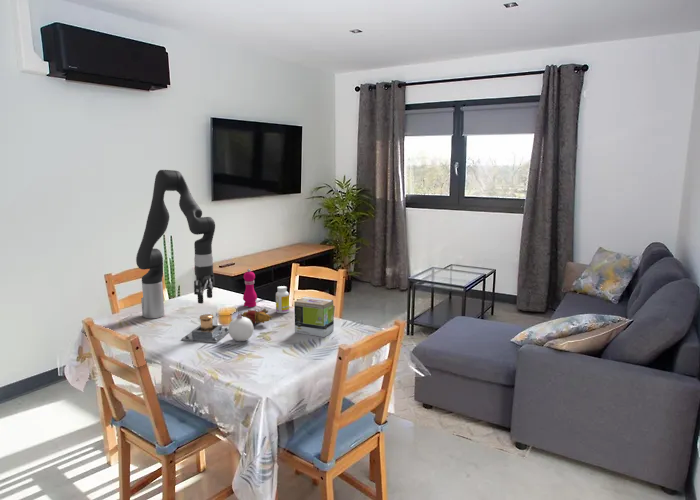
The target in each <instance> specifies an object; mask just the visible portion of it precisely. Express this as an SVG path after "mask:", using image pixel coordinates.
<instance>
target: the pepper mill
mask: <svg viewBox="0 0 700 500" xmlns="http://www.w3.org/2000/svg"><path fill="white" fill-rule="evenodd" d="M246 270H247V271H246V272H244V274H243V279H244V284H245V290H244V293H243V295H242V299H243V301H244V303H243V305H244V306H243V307H245V306H248V307H247V308H254V306H255V307H256V306H257V299H258V295H257V292H256V291H255V288H254V287H255V285H254V284H255V279H256V274H255V273H254V271H252V270H251V269H250V268H248V269H246Z"/></svg>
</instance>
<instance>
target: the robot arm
mask: <svg viewBox="0 0 700 500" xmlns="http://www.w3.org/2000/svg"><path fill="white" fill-rule="evenodd" d="M153 184H154V185H153V190H152V191H153V192H152V199H151V203H150V207H149V210H148V215H147V219H146V224H145V229H144V232H143V236H142V239H141V242H140V245H139V247H138V251H137V253H136V257H135V262H136V266H137V267H138V269H139V270H145V271H146V270H148V271H147V272H146V273H145V274H144V275H142V277H141V287H142V288H141V289H142V297H141V300H140V301H141V312H142V313H141V314H142V315H141V316H142V318H145V319H158V318H159V319H160V318H162V317H164V316H165V303H164V302H165V301H164V289H163V288H164V287H163V276H164V257H163V254H162V252H161V250H160V249H158V248H155V245H156V244H157V242H158V241H159V240H160V239H161V237H163V235H164V234H165V232H166V231H167V228H168V225H169V222H170V213H169V210H168V208H167V206H166V204H165V200H164V198H165V192H167V191H168V192H172V191H173V192H175V191H176V192H177V193H178V194H179V195H180V197H179V202H178V205H179V209H180V211H181V213H183V215H184V217H185V218H186V222H187V225H188V228H189V231H190V233H191V234H193V235H197V236H198V235H199V236H200V235H202V237H201V238H198V239H197V240H194V259H193V260H194V262H193V263H194V275H195V276H197V280H194V281H193V294H194V295H196V296H197V303H198V304H202V305H203V304H204V292H205V291H206V297H207V299H211V298H213V290H214V288H215V285H216V284H215V283H216V282H215V274H214V263H213V261H214V259H213V249H212V248H213V247H212V245H213V238H214V235H215V232H216V231H215V230H216V223H215V220H214V219H213V217H211V216H203V211H202V209H201V208H200V206H199V204H198V203H197V201H196V200H195V199H194V196H193V195H192V193H191V191H190V189H189V187H188V184H187V182H186V180H185V177H184V175H183V174H182V173H181V172H180V171H179V170H176V169H175V170H174V169H159V170H158V171H157V172H156V174H155V179H154V183H153Z"/></svg>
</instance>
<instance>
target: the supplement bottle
mask: <svg viewBox="0 0 700 500" xmlns="http://www.w3.org/2000/svg"><path fill="white" fill-rule="evenodd" d="M287 289H288V287H287V286H285V285H283V286H282V285H281V286H280V285H279V286H277V292H275V310H276V312H275V313H277V314H287V313H289V311H290V294H289V292H288V291H287Z"/></svg>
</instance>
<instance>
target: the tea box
mask: <svg viewBox="0 0 700 500" xmlns="http://www.w3.org/2000/svg"><path fill="white" fill-rule="evenodd" d="M293 305H294V306H293V307H294V333H295V334H296V333H297V334H303V335H310V336H316V337H322V338H325V337H326V336H328V335H329V334H331V333H333V332H334V328H335V327H334V326H335V325H334V322H335V321H334V313H335V312H334V311H335V310H334V308H335V307H334V299H331V298H330V299H329V298H320V297H311V296H303V297H301V298H298V299H296V300H295V301H294V303H293Z"/></svg>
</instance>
